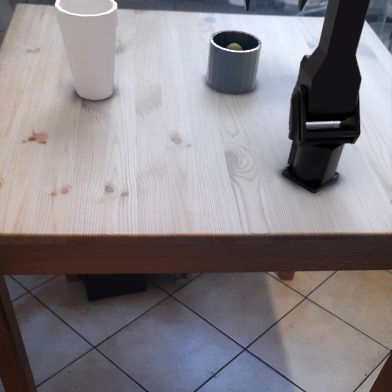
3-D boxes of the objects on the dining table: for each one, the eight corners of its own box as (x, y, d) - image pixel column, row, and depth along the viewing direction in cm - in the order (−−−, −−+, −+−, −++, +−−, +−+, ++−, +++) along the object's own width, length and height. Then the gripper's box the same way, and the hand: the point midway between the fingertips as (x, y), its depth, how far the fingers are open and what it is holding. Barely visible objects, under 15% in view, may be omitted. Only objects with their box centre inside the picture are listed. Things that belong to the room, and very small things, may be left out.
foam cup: (70, 106, 81) (57, 17, 71) (64, 80, 86) (51, -7, 76) (126, 102, 83) (122, 15, 73) (117, 77, 88) (112, -8, 78)
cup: (264, 85, 90) (272, 43, 85) (231, 99, 86) (237, 56, 81) (230, 67, 94) (234, 26, 88) (196, 79, 90) (199, 37, 84)
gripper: (244, -107, 62) (229, 30, 75) (378, -101, 65) (342, 30, 78) (225, -127, 69) (214, 2, 81) (348, -120, 72) (320, 3, 84)
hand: (273, 10), depth 81 cm, fingers open, 9 cm apart
